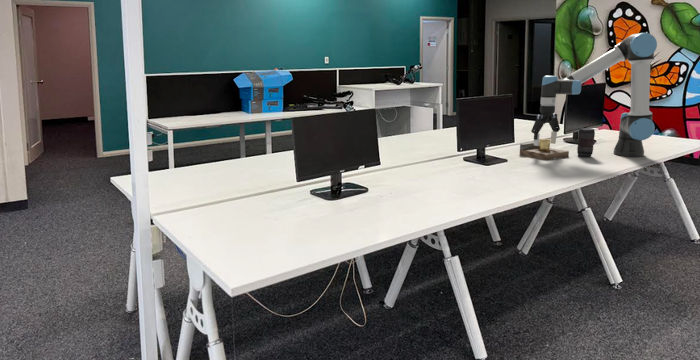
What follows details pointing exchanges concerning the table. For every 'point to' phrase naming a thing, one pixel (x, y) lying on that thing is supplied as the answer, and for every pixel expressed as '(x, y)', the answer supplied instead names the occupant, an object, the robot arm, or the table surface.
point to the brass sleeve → (544, 145)
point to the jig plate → (541, 152)
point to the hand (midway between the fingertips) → (544, 144)
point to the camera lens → (585, 142)
